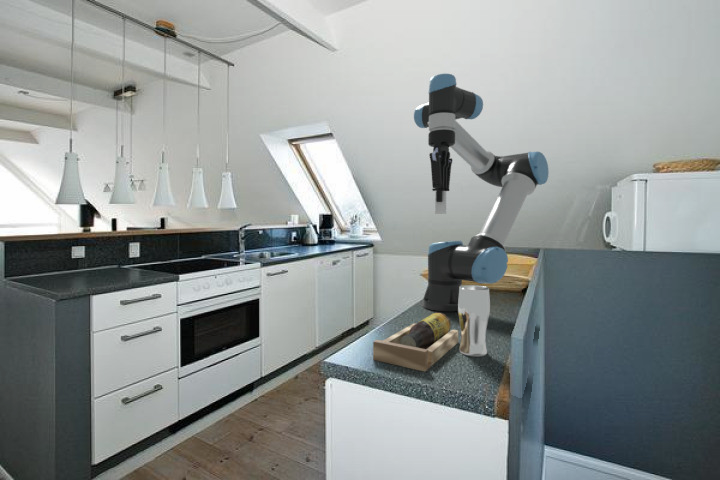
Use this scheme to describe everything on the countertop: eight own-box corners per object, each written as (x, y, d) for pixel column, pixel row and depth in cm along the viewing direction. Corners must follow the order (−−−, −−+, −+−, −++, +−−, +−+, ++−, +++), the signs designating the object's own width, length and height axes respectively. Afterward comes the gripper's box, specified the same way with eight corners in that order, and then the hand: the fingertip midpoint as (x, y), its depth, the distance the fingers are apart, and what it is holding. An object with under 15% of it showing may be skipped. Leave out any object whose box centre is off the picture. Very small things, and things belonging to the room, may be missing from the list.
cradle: (413, 334, 99) (413, 319, 99) (458, 342, 93) (458, 326, 92) (373, 359, 81) (373, 341, 81) (425, 371, 74) (425, 351, 74)
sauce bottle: (454, 333, 97) (425, 360, 80) (432, 335, 100) (400, 363, 83) (448, 308, 97) (417, 330, 80) (426, 311, 100) (392, 334, 84)
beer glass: (485, 359, 81) (486, 291, 80) (453, 354, 84) (454, 288, 84) (491, 350, 87) (492, 286, 86) (461, 345, 90) (462, 284, 90)
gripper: (437, 137, 115) (436, 214, 116) (420, 128, 104) (419, 213, 105) (461, 134, 111) (460, 214, 112) (446, 124, 100) (445, 213, 101)
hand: (440, 213), depth 108 cm, fingers closed
